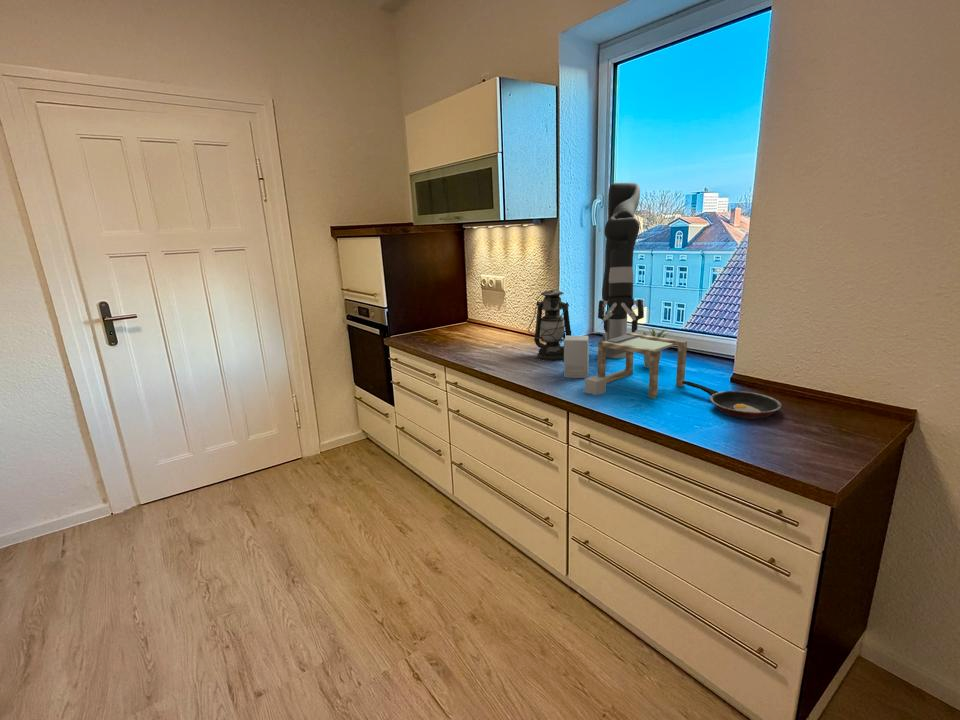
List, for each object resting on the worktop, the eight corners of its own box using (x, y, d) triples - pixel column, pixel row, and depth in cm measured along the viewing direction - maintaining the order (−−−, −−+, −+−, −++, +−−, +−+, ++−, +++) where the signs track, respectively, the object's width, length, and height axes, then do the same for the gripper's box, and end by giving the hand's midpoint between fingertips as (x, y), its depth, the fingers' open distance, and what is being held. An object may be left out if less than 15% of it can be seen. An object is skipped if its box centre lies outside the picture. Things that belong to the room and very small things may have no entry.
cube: (584, 392, 167) (585, 378, 166) (594, 389, 170) (594, 375, 169) (596, 395, 164) (596, 381, 162) (605, 392, 167) (605, 378, 165)
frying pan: (753, 427, 132) (754, 415, 131) (662, 396, 160) (662, 385, 159) (794, 413, 140) (796, 401, 139) (701, 385, 168) (702, 375, 167)
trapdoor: (604, 354, 173) (604, 340, 172) (627, 347, 182) (628, 334, 180) (651, 363, 159) (651, 348, 157) (674, 355, 167) (675, 341, 166)
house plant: (677, 364, 195) (679, 324, 190) (669, 373, 184) (671, 331, 179) (641, 360, 202) (643, 322, 198) (632, 369, 191) (633, 329, 187)
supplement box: (588, 371, 191) (589, 335, 187) (587, 378, 182) (588, 340, 178) (565, 371, 193) (565, 334, 189) (563, 377, 185) (563, 339, 181)
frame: (597, 384, 175) (598, 341, 171) (628, 372, 187) (629, 332, 182) (653, 398, 158) (656, 351, 154) (684, 385, 169) (687, 341, 165)
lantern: (579, 355, 215) (579, 289, 208) (559, 366, 201) (558, 294, 193) (542, 351, 226) (541, 287, 219) (521, 360, 212) (519, 293, 204)
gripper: (646, 281, 154) (645, 331, 155) (603, 283, 161) (602, 331, 163) (640, 280, 147) (639, 333, 149) (595, 282, 155) (595, 332, 157)
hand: (620, 332), depth 156 cm, fingers open, 8 cm apart
